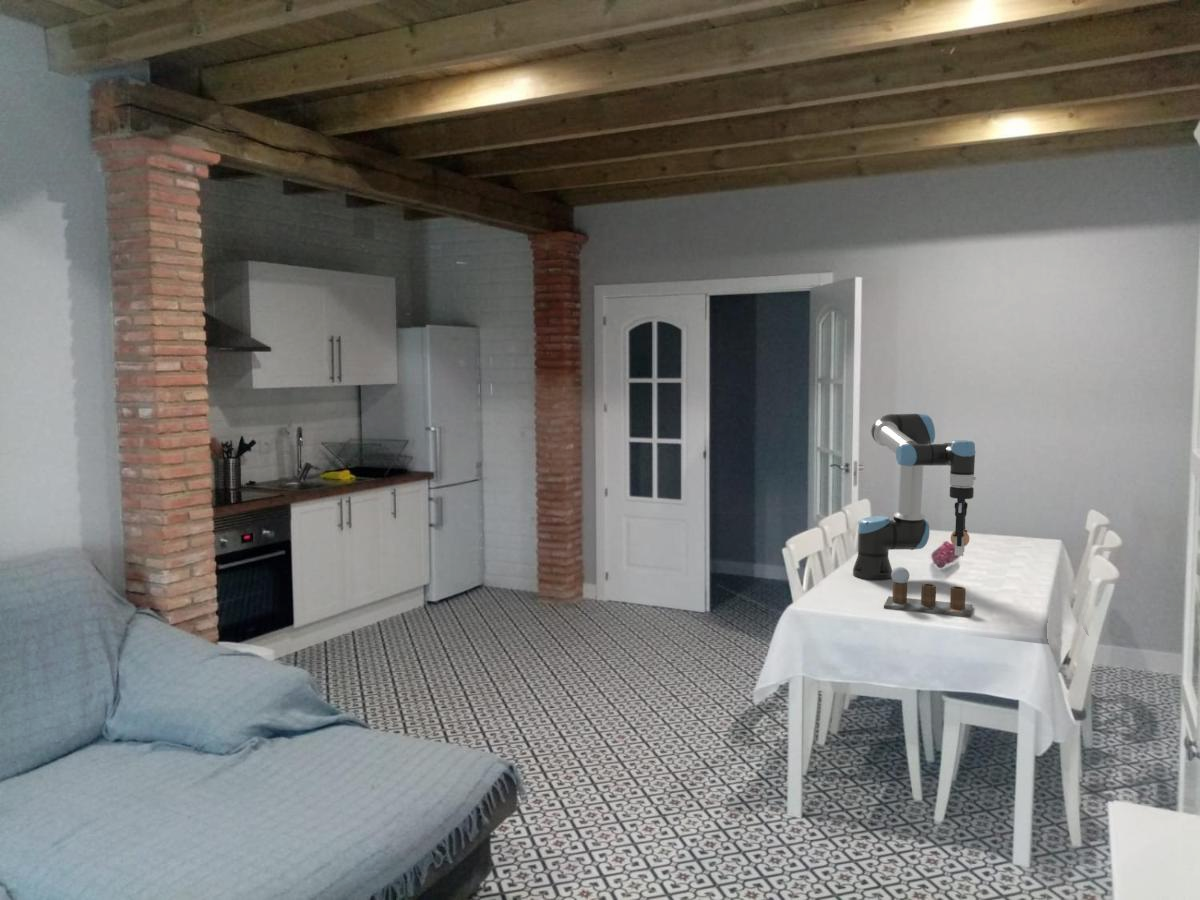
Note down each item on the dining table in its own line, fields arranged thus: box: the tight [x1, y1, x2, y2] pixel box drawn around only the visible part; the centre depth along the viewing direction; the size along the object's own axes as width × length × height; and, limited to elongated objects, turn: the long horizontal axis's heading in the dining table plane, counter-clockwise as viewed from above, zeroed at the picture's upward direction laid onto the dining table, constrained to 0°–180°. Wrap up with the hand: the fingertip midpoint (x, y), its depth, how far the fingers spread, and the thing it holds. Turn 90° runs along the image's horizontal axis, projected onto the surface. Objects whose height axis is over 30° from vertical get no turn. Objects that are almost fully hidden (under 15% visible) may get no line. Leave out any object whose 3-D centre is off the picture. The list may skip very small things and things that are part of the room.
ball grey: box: [891, 566, 910, 584], centre depth 321 cm, size 6×6×6 cm
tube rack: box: [883, 581, 973, 618], centre depth 318 cm, size 28×13×8 cm, turn 65°
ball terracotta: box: [950, 530, 970, 547], centre depth 311 cm, size 6×6×6 cm
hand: (959, 553), depth 312 cm, fingers closed on ball terracotta, 6 cm apart
